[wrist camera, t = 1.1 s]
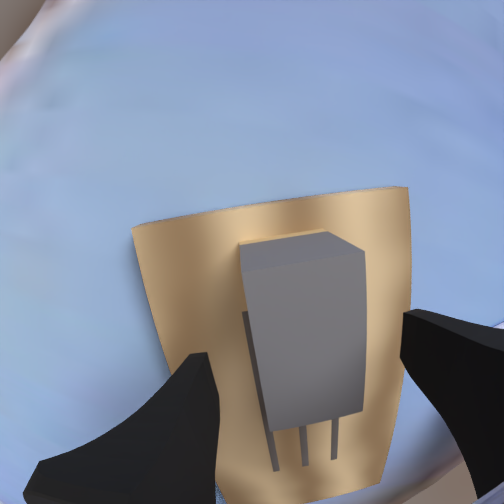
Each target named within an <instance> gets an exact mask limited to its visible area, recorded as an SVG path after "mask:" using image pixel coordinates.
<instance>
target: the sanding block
mask: <svg viewBox="0 0 504 504" xmlns="http://www.w3.org/2000/svg"><path fill="white" fill-rule="evenodd" d="M239 247H240V262H241V274H242V280H243V286H244V291H245V297H246V303H247V309H248V315H249V320H250V326H251V332H252V337H253V343H254V349H255V354H256V360H257V365H258V371H259V376H260V382H261V387H262V393H263V398H264V403H265V409H266V414H267V419H268V425H269V430H270V432H273V431H279V430H285V429H290V428H295V427H300V426H305V425H310V424H315V423H319V422H324V421H328V420H332V419H336V418H340V417H344V416H347V415H351V414H355V413H358V412H362V411H363V403H364V390H365V374H366V349H367V286H366V261H365V251H363V250H362V249H360V248H358V247H356V246H354V245H352V244H351V243H349V242H347V241H345V240H343V239H341V238H340V237H338V236H336V235H334V234H332V233H330V232H328V231H326V230H324V229H317V230H310V231H304V232H297V233H291V234H285V235H278V236H272V237H266V238H259V239H253V240H247V241H241V242H239Z"/></svg>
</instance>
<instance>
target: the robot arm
mask: <svg viewBox="0 0 504 504" xmlns="http://www.w3.org/2000/svg"><path fill="white" fill-rule="evenodd" d="M400 359H401V361H402V363H403V365H404V367H405V368H406V370H407V372H408V373H409V375H410V377H411V378H412V379H413V381H414V382H415V383H416V384H417V386H418V387H419V388H420V390H421V391H422V392H423V393H424V395H425V396H426V397H427V398H428V400H429V401H430V402H431V403H432V405H433V406H434V407H435V408H436V410H437V411H438V412H439V414H440V415H441V416H442V418H443V419H444V421H445V422H446V424H447V426H448V428H449V429H450V431H451V433H452V435H453V437H454V438H455V440H456V442H457V445H458V447H459V449H460V451H461V453H462V455H463V457H464V460H465V462H466V465H467V467H468V470H469V472H470V475H471V478H472V481H473V484H474V488H475V491H476V494H477V499H478V500H477V501H475V502H473V503H472V504H504V322H503V323H501V324H499V325H497V326H495V327H488V326H483V325H479V324H474V323H470V322H466V321H463V320H459V319H455V318H452V317H448V316H445V315H441V314H438V313H434V312H430V311H426V310H421V309H414V310H410V311H407V312H403V323H402V337H401V348H400ZM219 428H220V400H219V393H218V390H217V386H216V383H215V379H214V375H213V372H212V368H211V364H210V361H209V357H208V353H207V352H200V353H192V354H189V355H188V357H187V358H186V359H185V360H184V361H183V363H182V364H181V365H180V366H179V367H178V369H177V370H176V371H175V372H174V374H173V375H172V376H171V377H170V378H169V379H168V380H167V382H166V383H165V384H164V385H163V386H162V387H161V388H160V389H159V390H158V391H157V392H156V393H155V394H154V395H153V396H152V397H151V398H150V399H149V400H148V401H147V402H146V403H145V404H144V405H143V406H142V407H141V408H140V409H138V410H137V411H136V412H135V413H134V414H132V415H131V416H130V417H129V418H127V419H126V420H125V421H123V422H122V423H120V424H119V425H117V426H116V427H114V428H113V429H111V430H110V431H108V432H106V433H105V434H103V435H102V436H100V437H98V438H96V439H95V440H93V441H91V442H89V443H87V444H85V445H83V446H80V447H78V448H76V449H74V450H71V451H69V452H66V453H63V454H60V455H58V456H55V457H52V458H49V459H45V460H42V461H39V463H38V465H37V467H36V469H35V470H34V472H33V474H32V476H31V478H30V480H29V482H28V484H27V486H26V488H25V490H24V492H23V497H24V499H25V501H26V503H27V504H216V495H215V468H216V458H217V448H218V438H219Z"/></svg>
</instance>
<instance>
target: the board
mask: <svg viewBox="0 0 504 504" xmlns="http://www.w3.org/2000/svg"><path fill="white" fill-rule="evenodd" d="M317 229H324V230H326V231H328V232H330V233H332V234H334V235H336V236H338V237H340V238H341V239H343V240H345V241H347V242H349V243H351V244H352V245H354V246H356V247H358V248H360V249H362V250H363V251H365V261H366V286H367V349H366V374H365V390H364V403H363V411H362V412H358V413H355V414H351V415H347V416H344V417H340V418H336V419H332V420H328V421H324V422H319V423H315V424H310V425H305V426H300V427H295V428H290V429H285V430H279V431H273V432H270V430H269V425H268V419H267V414H266V409H265V403H264V398H263V393H262V387H261V382H260V376H259V371H258V365H257V360H256V354H255V349H254V343H253V337H252V332H251V326H250V320H249V315H248V309H247V303H246V297H245V291H244V286H243V280H242V274H241V262H240V247H239V242H241V241H247V240H253V239H259V238H266V237H272V236H278V235H285V234H291V233H297V232H304V231H310V230H317ZM131 230H132V235H133V239H134V244H135V249H136V253H137V257H138V262H139V266H140V270H141V274H142V278H143V282H144V286H145V290H146V294H147V297H148V301H149V305H150V308H151V312H152V315H153V319H154V322H155V326H156V329H157V332H158V335H159V339H160V342H161V345H162V348H163V351H164V354H165V357H166V360H167V363H168V366H169V369H170V372H171V375H173V374H174V372H175V371H176V370H177V369H178V367H179V366H180V365H181V364H182V363H183V361H184V360H185V359H186V358H187V357H188V355H189V354H192V353H200V352H207V353H208V357H209V361H210V364H211V368H212V372H213V375H214V379H215V383H216V386H217V390H218V393H219V400H220V428H219V438H218V448H217V458H216V468H215V481H216V483H217V485H218V487H219V489H220V491H221V493H222V495H223V497H224V499H225V501H226V503H227V504H304V503H309V502H314V501H318V500H323V499H327V498H331V497H335V496H339V495H343V494H346V493H350V492H353V491H357V490H360V489H363V488H366V487H369V486H372V485H375V484H378V483H380V481H381V477H382V474H383V470H384V467H385V463H386V460H387V456H388V452H389V448H390V444H391V440H392V436H393V431H394V427H395V422H396V417H397V412H398V407H399V401H400V396H401V390H402V383H403V377H404V370H405V367H404V365H403V363H402V361H401V359H400V348H401V337H402V323H403V312H407V311H410V305H411V273H412V254H411V222H410V206H409V193H408V187H397V186H393V187H383V188H373V189H364V190H355V191H346V192H338V193H330V194H322V195H314V196H306V197H299V198H292V199H285V200H278V201H271V202H264V203H258V204H251V205H245V206H238V207H232V208H226V209H220V210H214V211H208V212H203V213H197V214H191V215H186V216H180V217H175V218H170V219H164V220H159V221H154V222H149V223H144V224H140V225H138V226H135V227H133V228H131Z"/></svg>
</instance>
